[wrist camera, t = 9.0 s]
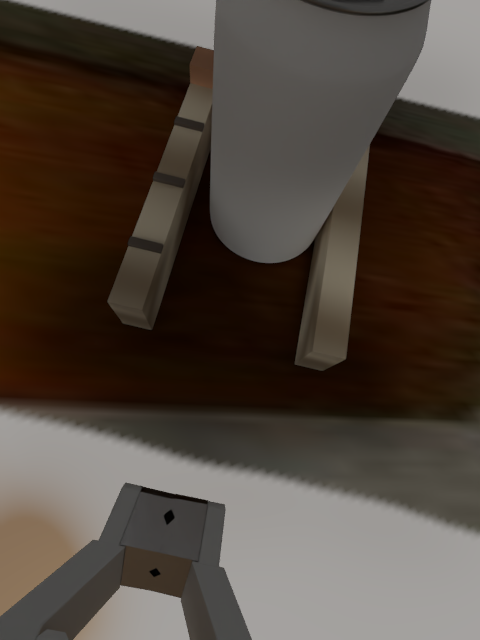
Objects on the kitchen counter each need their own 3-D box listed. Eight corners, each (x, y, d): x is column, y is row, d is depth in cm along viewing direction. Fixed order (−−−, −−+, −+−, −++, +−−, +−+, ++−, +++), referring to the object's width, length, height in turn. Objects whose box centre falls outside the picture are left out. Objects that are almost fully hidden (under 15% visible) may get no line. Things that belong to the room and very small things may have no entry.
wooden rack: (322, 370, 17) (356, 354, 13) (123, 323, 17) (100, 292, 13) (351, 152, 22) (382, 95, 18) (198, 112, 22) (196, 46, 18)
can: (301, 170, 21) (413, -126, 10) (329, 259, 19) (504, 20, 8) (201, 178, 20) (198, -140, 9) (219, 274, 18) (245, 23, 7)
